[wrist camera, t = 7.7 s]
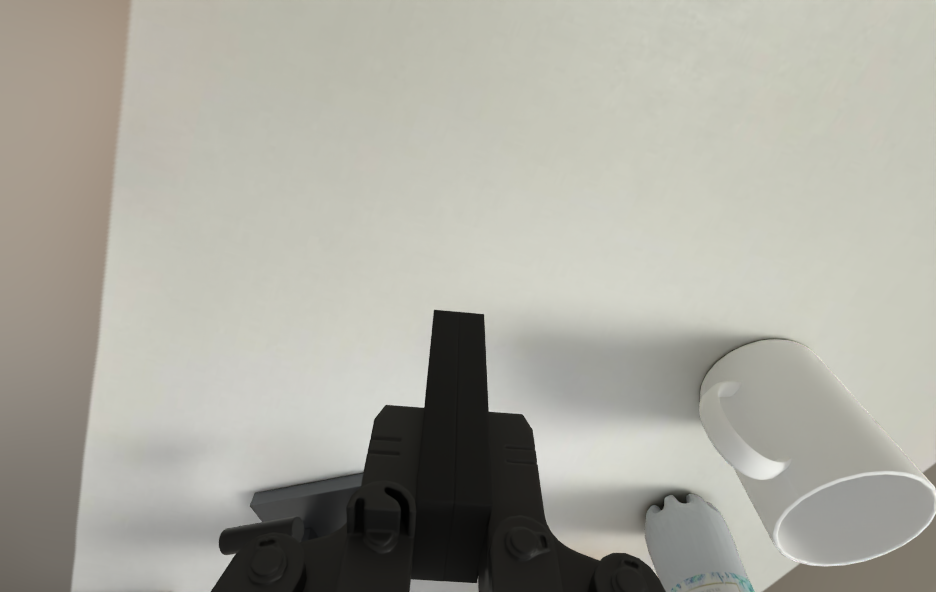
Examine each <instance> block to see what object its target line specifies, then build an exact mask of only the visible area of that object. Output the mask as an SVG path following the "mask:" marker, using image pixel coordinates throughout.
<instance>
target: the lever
mask: <svg viewBox="0 0 936 592" xmlns="http://www.w3.org/2000/svg"><path fill="white" fill-rule="evenodd" d="M272 532H276V533H285V534H288V535H290V536H292V537H294V538H295V539H297V540H298V542H300V541H301V540H302V538H303V535H304V524H303V521H302V519H301V518H300V517H299V516H295V517H289V518H283V519H278V520H272V521H267V522H261V523H255V524H250V525H244V526H238V527H233V528H227V529H225V530H224V531H223V532H222V533H221V535H220V538H219V548H220V551H221V552H222V554H224V555H230V554H236V553H237V552H238V551H239V550H240V549H241V548H242V547H243V546H244V545H245V544H246V543H247V542H249V541H251V540H253V539H254V538H256V537H258V536H260V535H264V534H268V533H272Z"/></svg>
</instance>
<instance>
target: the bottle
mask: <svg viewBox="0 0 936 592" xmlns="http://www.w3.org/2000/svg"><path fill="white" fill-rule="evenodd" d="M686 501H687V503H684V504H683V503H680V502H678V500H677V499H676V498H675V497H674V496H673V495H670V496H667V497H666V498H665V500H664V508H663V510H660V508H659V507H658V506H656V505H653V506H651V507H650V508H649V509H648V511H647V514H646V524H645V540H646V544H647V547H648V551H649V554H650V557H651V559H652V562H653V565H654V567H655V570H656V572H657V575H658V577H659V580H660V582H661V583H662V585H663V587H664V589H665V591H666V592H755V591H754V589H753V587H752V585H751V583H750V581H749V579H748V576H747V574H746V571H745V569H744V566H743V564H742V561H741V558H740V556H739V553H738V550H737V548H736V545H735V542H734V540H733V537H732V535H731V532H730V530H729V528H728V526H727V524H726V522H725V520H724V518H723V517H722V515H721V513H720V512H719V511H718V509H717V508H716V507H715V506H713V505H712V504H710V503H708V502H705V501H704V500H703V499H702V498H701V497H700V496H698V495H695V494H689V495H687V497H686Z"/></svg>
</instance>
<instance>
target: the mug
mask: <svg viewBox="0 0 936 592" xmlns="http://www.w3.org/2000/svg"><path fill="white" fill-rule="evenodd" d="M699 413H700V418H701V421H702V424H703V427H704V429H705V431H706V433H707V435H708V437H709V439H710V441H711V443H712V444H713V446H714V447H715V449H716V450H717V451H718V452H719V454H720V455H721V456H722V457H723V458H724V459H725V460H726V461H727V462H728V463H729V464H730V465H731V466H732V467H733V468H734V470H735V472H736V473H737V475H738V477H739V479H740V481H741V483H742V485H743V487H744V489H745V490H746V492H747V494H748V496H749V498H750V500H751V502H752V504H753V506H754V508H755V509H756V511H757V513H758V515H759V517H760V519H761V521H762V523H763V525H764V526H765V528H766V530H767V532H768V534H769V536H770V538H771V540H772V542H773V544H774V545H775V547H776V548H777V549H778V551H779V552H780V553H781V554H782V555H784V556H785V557H787V558H789V559H791V560H792V561H796V562H799V563H803V564H807V565H816V566H838V565H848V564H853V563H857V562H862V561H866V560H870V559H872V558H875V557H879V556H881V555H884V554H887V553H889V552H891V551H893V550H895V549H897V548H899V547H901V546H903V545H905V544H906V543H908V542H909V541H910V540H912V539H913V538H915V537H916V536H918V535H919V534H920V533H921V532H922V531H923V530H924V529H925V528H926V527H927V526H928V525H929V524H930V523H931V521H932V519H933V517H934V516H935V514H936V489H935V487H934V486H933V485H932V483H931V482H930V481H929V480H928V479H927V478H926V477H925V476H924V474H923V473H922V472H921V471H920V470H919V469H918V468H917V467H916V465H915V464H914V463H913V462H912V461H911V460H910V459H909V458H908V456H907V455H906V454H905V453H904V452H903V451H902V450H901V449H900V447H899V446H898V445H897V444H896V443H895V442H894V441H893V440H892V438H891V437H890V436H889V435H888V434H887V433H886V432H885V431H884V430H883V428H882V427H881V426H880V425H879V424H878V423H877V422H876V421H875V419H874V418H873V417H872V416H871V415H870V414H869V413H868V412H867V410H866V409H865V408H864V407H863V406H862V405H861V404H860V403H859V401H858V400H857V399H856V398H855V397H854V396H853V395H852V394H851V393H850V391H849V390H848V389H847V388H846V387H845V386H844V385H843V384H842V382H841V381H840V380H839V379H838V378H837V377H836V376H835V375H834V373H833V372H832V371H831V370H830V369H829V368H828V367H827V366H826V365H825V363H824V362H823V361H822V360H821V359H820V358H819V357H818V356H817V354H815V353H814V352H813V351H812V350H811V349H809V348H808V347H807V346H804V345H801V344H799V343H796V342H794V341H790V340H781V339H771V340H761V341H757V342H754V343H750V344H747V345H744V346H742V347H740V348H738V349H736V350H734V351H732V352H730V353H728V354H727V355H725V356H724V357H723V358H722V359H720V360H719V361H718V362H716V363H715V365H714V366H713V367H712V368H711V369H710V370H709V372H708V373H707V374H706V376H705V378H704V380H703V382H702V385H701V392H700V404H699Z"/></svg>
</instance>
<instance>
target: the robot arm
mask: <svg viewBox="0 0 936 592" xmlns="http://www.w3.org/2000/svg"><path fill="white" fill-rule="evenodd" d="M346 515H347V523H345V524H344V525H343V526H342V527H341V528H340V529H338V530H336V531H335V532H333V533H331V534H328V535H326V536H323V537H319V538H315V539H311V540H307V541H303V542H298V540H297V539H295V538H294V537H292V536H290V535H288V534H285V533H276V532H272V533H268V534H264V535H260V536H258V537H256V538H254V539H253V540H251V541H249V542H247V543H246V544H245V545H244V546H243V547H242V548H241V549H240V550H239V551H238V552H237V554H236V555H235V556H234V558H233V559H232V561H231V562H230V564H229V565H228V567H227V568H226V570H225V571H224V573H223V574H222V576H221V577H220V579H219V580H218V582H217V583H216V585H215V586H214V588H213V589H212V591H211V592H409V591H410V580H411V579H416V580H433V581H450V582H467V583H477V579H478V582H479V592H666V591H665V589H664V587H663V585H662V583H661V582H660V580H659V578H658V577H657V576H656V574H655V573H654V572H653V570H652V569H651V568H650V567H649V566H648V565H647V564H645V563H644V562H643V561H641V560H640V559H639V558H636V557H634V556H631V555H629V554H626V553H612V554H610V555H607V556H605V557H603V558H602V559H601V561H599V560H596V559H593V558H591V557H588V556H586V555H583V554H581V553H578V552H576V551H574V550H572V549H570V548H568V547H566V546H565V545H564V544H562V543H561V542H560V541H558V539H557V538H556V537H555V536H554V535H553V534H552V532H551V531H550V529H549V527H548V525H547V523H546V519H545V515H544V508H543V501H542V494H541V487H540V480H539V473H538V465H537V458H536V451H535V444H534V437H533V430H532V428H531V427H530V425H529V424H528V422H527V421H526V419H525V418H524V416H523V414H510V413H497V412H489V411H488V390H487V368H486V347H485V325H484V314H475V313H464V312H452V311H441V310H434V316H433V326H432V336H431V346H430V356H429V366H428V376H427V387H426V397H425V407H424V408H418V407H405V406H392V405H385V407H384V408H383V409H382V410H381V412H380V413H379V414H378V415H377V417H376V418H375V419H374V424H373V429H372V434H371V440H370V444H369V448H368V454H367V458H366V463H365V468H364V473H363V477H362V482H361V487H360V488H359V489H358V490H357V491H356V492H355V493H354V494H353V495H352V496H351V498H350V500H349V502H348V504H347V507H346Z"/></svg>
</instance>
